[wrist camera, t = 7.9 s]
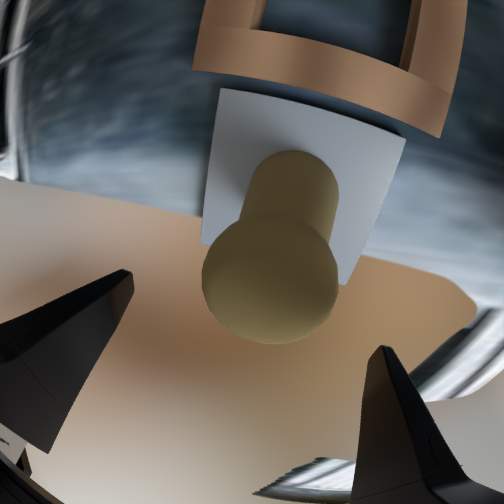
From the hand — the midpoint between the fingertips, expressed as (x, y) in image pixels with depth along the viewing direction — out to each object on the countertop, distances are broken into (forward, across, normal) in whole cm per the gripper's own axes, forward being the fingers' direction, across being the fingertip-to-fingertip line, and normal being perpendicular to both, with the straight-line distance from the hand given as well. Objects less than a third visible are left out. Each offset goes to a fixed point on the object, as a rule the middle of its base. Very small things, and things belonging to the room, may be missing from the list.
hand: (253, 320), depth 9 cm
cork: (+12, 0, 0) cm, 12 cm away
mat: (+12, 0, 0) cm, 12 cm away
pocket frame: (+12, 0, -14) cm, 19 cm away
